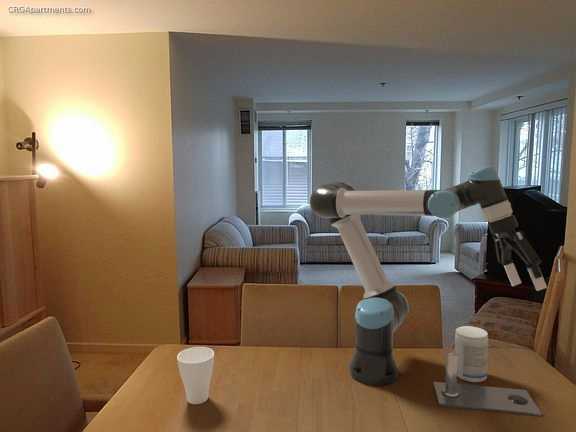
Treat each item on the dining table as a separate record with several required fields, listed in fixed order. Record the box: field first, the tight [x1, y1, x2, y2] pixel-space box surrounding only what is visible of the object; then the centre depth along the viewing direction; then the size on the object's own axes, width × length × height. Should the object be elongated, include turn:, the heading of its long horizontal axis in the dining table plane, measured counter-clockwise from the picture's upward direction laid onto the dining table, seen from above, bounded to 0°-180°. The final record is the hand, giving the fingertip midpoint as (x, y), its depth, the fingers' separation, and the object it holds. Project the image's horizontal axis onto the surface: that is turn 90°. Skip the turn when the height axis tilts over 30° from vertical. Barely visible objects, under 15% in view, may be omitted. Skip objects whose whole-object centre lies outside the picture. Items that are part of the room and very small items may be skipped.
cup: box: [176, 346, 215, 405], centre depth 122 cm, size 10×10×14 cm
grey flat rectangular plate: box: [433, 381, 543, 417], centre depth 121 cm, size 26×12×1 cm, turn 78°
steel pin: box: [443, 351, 459, 398], centre depth 122 cm, size 4×4×12 cm
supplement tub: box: [454, 325, 489, 383], centre depth 133 cm, size 10×10×15 cm
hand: (528, 286), depth 122 cm, fingers open, 13 cm apart
